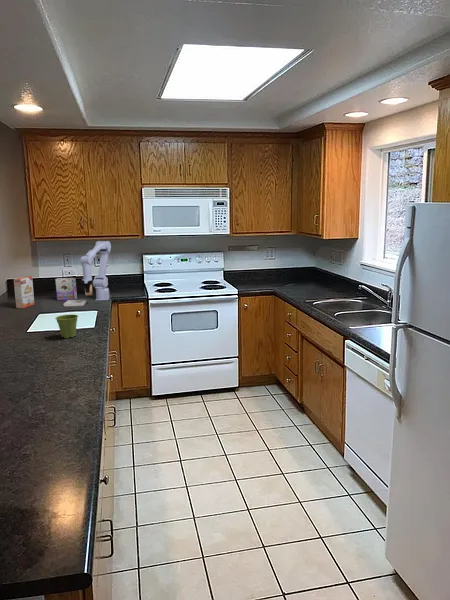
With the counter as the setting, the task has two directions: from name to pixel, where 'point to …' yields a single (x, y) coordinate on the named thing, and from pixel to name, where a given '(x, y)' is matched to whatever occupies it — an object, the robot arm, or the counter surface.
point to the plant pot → (67, 325)
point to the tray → (74, 303)
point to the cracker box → (24, 292)
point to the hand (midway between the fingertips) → (88, 291)
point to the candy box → (66, 289)
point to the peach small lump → (90, 291)
